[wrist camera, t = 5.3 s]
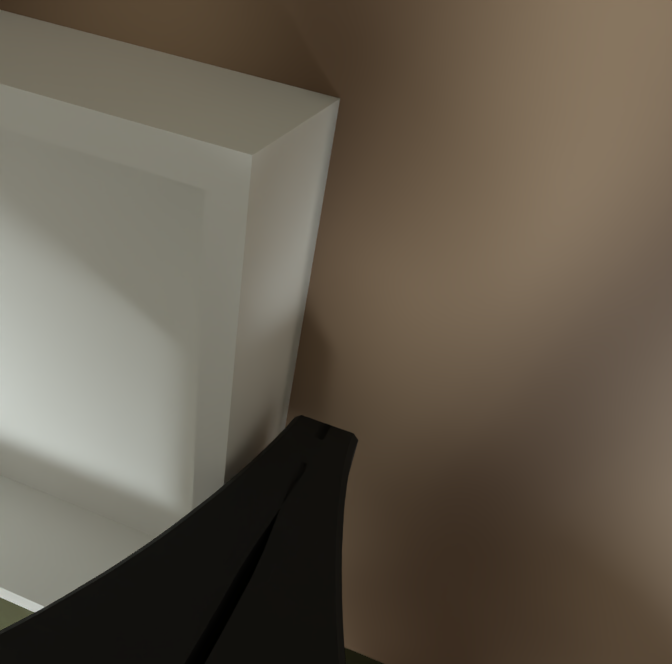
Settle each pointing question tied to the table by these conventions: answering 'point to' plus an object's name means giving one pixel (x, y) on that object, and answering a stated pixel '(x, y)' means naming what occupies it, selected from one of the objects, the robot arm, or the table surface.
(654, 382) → the bench board
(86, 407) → the tray
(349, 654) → the table surface
